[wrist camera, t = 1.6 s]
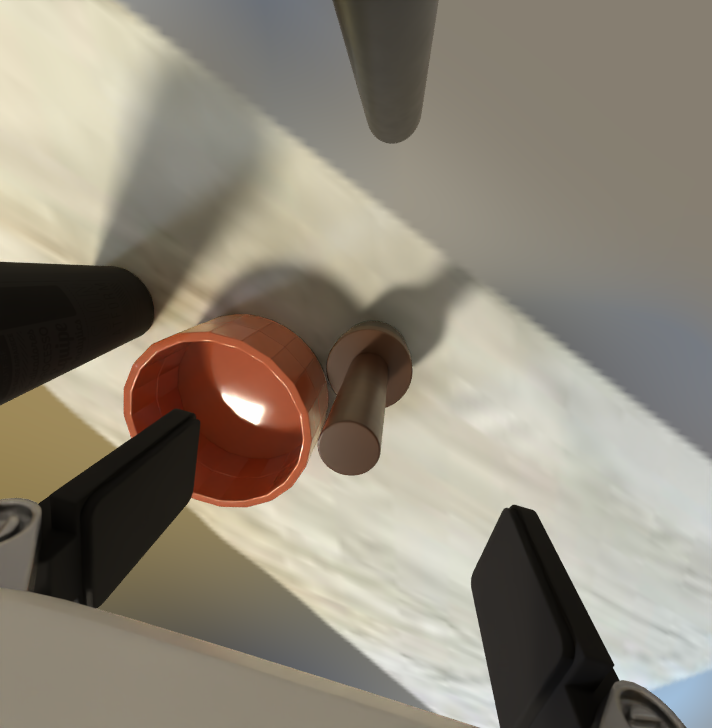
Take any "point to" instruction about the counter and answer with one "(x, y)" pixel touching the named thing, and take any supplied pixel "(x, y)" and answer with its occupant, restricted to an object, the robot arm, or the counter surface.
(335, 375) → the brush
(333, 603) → the counter surface
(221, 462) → the bowl
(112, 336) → the drinking cup
